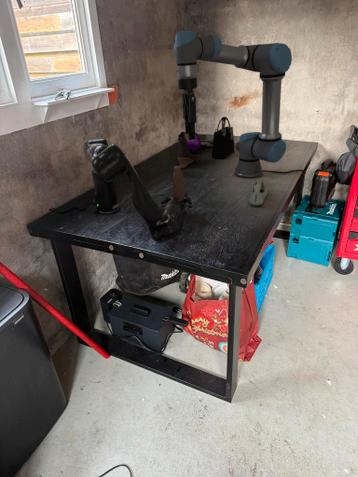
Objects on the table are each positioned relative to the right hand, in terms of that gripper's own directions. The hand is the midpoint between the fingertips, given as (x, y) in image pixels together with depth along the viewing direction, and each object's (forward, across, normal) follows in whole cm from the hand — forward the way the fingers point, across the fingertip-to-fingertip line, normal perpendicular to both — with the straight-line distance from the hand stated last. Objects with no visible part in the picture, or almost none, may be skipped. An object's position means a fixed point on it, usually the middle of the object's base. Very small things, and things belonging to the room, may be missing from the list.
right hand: (190, 138), depth 140 cm
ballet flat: (+32, +2, +32) cm, 46 cm away
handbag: (+33, -72, +42) cm, 90 cm away
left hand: (+25, +2, -7) cm, 26 cm away
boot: (+32, -65, +14) cm, 74 cm away
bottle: (+31, +5, -8) cm, 33 cm away
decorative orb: (+33, -87, +22) cm, 95 cm away
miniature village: (+34, -84, +72) cm, 115 cm away
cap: (-1, 0, 0) cm, 1 cm away
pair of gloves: (+33, -105, +43) cm, 118 cm away
